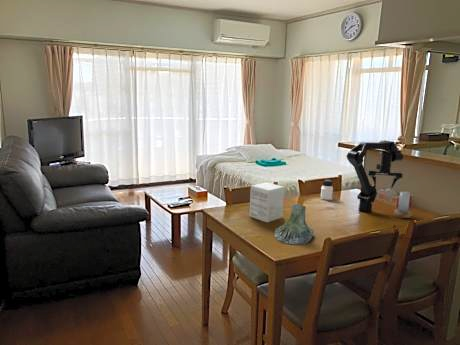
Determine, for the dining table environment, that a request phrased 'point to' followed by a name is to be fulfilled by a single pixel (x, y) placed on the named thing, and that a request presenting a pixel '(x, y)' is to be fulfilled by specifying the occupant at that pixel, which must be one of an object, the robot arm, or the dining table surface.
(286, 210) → the dining table surface
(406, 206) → the pale blue small block
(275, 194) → the supplement box
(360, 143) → the robot arm
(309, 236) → the tree stump
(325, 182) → the medicine bottle
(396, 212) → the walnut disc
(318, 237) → the dining table surface
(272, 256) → the dining table surface
